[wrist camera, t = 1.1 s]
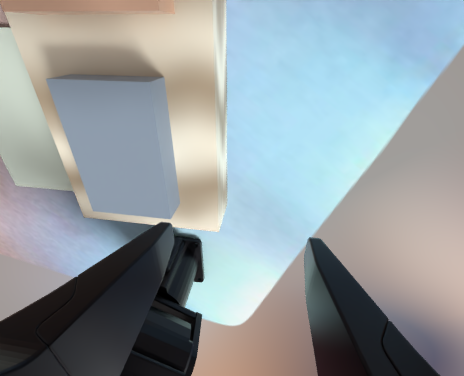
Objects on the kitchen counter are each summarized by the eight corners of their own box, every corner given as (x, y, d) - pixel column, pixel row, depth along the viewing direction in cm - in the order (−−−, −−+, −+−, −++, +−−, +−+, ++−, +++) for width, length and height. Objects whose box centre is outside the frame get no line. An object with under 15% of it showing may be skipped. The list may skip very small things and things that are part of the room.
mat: (105, 192, 25) (103, 194, 25) (18, 184, 26) (16, 185, 26) (54, 27, 18) (51, 27, 17) (-63, 27, 19) (-68, 27, 19)
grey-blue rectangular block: (180, 203, 19) (170, 219, 17) (108, 196, 20) (92, 211, 18) (164, 76, 14) (149, 82, 13) (71, 74, 15) (45, 78, 13)
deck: (227, 203, 23) (218, 231, 20) (110, 192, 25) (83, 217, 22) (225, -108, 13) (207, -159, 10) (24, -94, 14) (-53, -134, 11)
